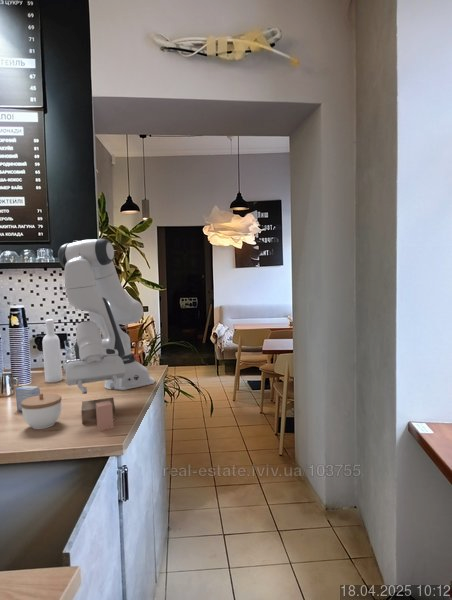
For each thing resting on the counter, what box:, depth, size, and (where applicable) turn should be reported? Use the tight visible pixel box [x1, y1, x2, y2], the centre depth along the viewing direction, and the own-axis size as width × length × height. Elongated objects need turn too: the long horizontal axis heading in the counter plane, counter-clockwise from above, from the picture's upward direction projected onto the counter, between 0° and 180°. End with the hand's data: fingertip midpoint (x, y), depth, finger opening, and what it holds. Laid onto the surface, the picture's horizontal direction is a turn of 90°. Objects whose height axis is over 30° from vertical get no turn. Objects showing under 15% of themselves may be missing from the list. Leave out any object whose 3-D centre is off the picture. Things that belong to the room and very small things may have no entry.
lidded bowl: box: [21, 392, 62, 430], centre depth 144 cm, size 13×13×11 cm
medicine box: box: [14, 385, 41, 412], centre depth 162 cm, size 8×4×9 cm, turn 71°
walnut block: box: [80, 397, 116, 425], centre depth 150 cm, size 11×11×5 cm
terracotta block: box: [96, 401, 114, 432], centre depth 140 cm, size 4×4×8 cm
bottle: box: [41, 318, 63, 384], centre depth 205 cm, size 8×8×30 cm
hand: (99, 390), depth 144 cm, fingers open, 8 cm apart
